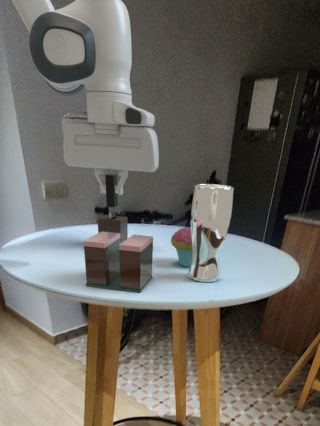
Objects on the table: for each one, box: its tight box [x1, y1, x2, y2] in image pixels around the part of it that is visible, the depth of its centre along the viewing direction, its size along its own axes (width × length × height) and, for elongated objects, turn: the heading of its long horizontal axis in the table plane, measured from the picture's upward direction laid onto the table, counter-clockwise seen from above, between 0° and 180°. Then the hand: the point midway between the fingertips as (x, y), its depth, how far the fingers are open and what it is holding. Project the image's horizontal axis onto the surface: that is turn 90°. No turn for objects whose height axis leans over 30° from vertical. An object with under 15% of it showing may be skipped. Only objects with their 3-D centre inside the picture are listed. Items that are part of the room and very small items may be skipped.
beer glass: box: [187, 183, 235, 283], centre depth 65 cm, size 7×7×15 cm
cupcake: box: [170, 226, 192, 268], centre depth 73 cm, size 9×8×12 cm
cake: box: [83, 232, 154, 294], centre depth 63 cm, size 10×9×7 cm
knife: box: [104, 173, 119, 219], centre depth 83 cm, size 2×3×14 cm, turn 167°
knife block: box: [97, 214, 129, 243], centre depth 85 cm, size 5×5×6 cm
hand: (111, 193), depth 81 cm, fingers closed on knife, 2 cm apart
